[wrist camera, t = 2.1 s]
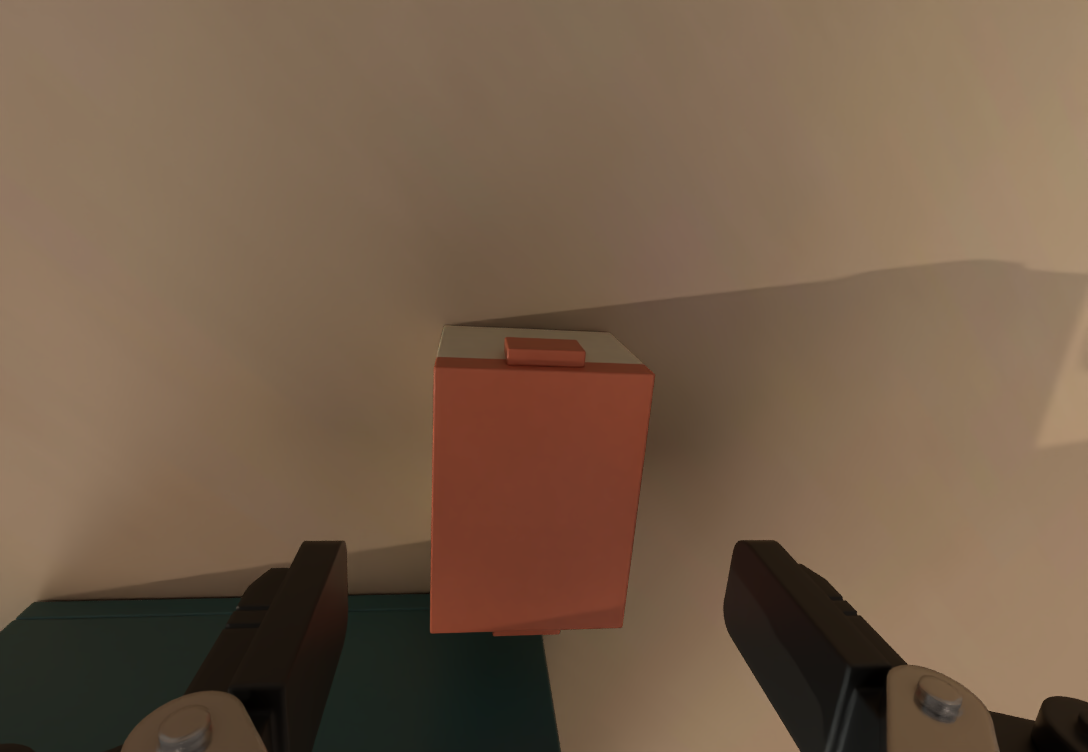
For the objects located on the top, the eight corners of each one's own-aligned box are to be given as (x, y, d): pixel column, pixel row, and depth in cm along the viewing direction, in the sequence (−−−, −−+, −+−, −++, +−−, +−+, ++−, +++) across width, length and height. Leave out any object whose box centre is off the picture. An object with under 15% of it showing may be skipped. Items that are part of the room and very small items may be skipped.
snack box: (443, 311, 16) (434, 348, 12) (611, 319, 17) (658, 357, 13) (439, 545, 19) (429, 647, 14) (588, 544, 19) (621, 641, 15)
